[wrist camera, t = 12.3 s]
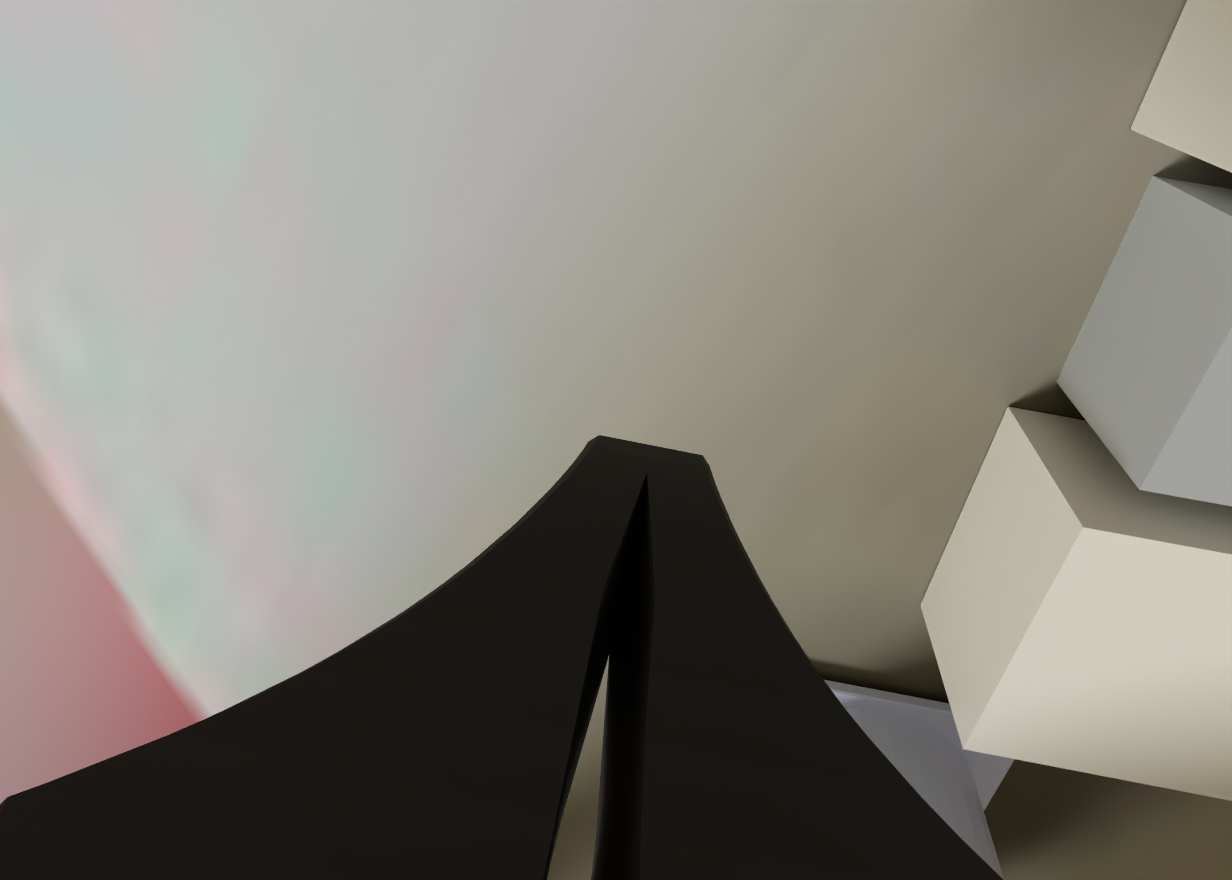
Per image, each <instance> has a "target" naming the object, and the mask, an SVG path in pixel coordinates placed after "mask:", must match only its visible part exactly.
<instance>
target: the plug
mask: <svg viewBox="0 0 1232 880" xmlns="http://www.w3.org/2000/svg"><path fill="white" fill-rule="evenodd" d="M1057 383H1058V385H1059V386H1060V387H1061V389H1062V390H1063V391H1064V393H1065V394H1066V395H1067V396H1068V398H1069V399H1070V400H1071V402H1072V403H1073V404H1074V406H1075V407H1076V408H1077V409H1078V411H1079V412H1080V413H1081V415H1082V416H1083V417H1084V418H1085V420H1086V421H1087V422H1088V424H1089V425H1090V426H1091V428H1092V429H1093V430H1094V431H1095V433H1096V434H1097V435H1098V437H1099V438H1100V439H1101V441H1102V442H1103V443H1104V444H1105V446H1106V447H1107V448H1108V450H1109V451H1110V452H1111V454H1112V455H1113V456H1114V457H1115V459H1116V460H1117V461H1118V463H1119V464H1120V465H1121V467H1122V468H1123V469H1124V470H1125V472H1126V473H1127V474H1128V476H1129V477H1130V478H1131V480H1132V481H1133V482H1134V483H1135V485H1136V486H1137V487H1138V489H1139V490H1144V491H1149V492H1155V493H1160V494H1166V495H1171V496H1177V497H1182V498H1188V499H1193V500H1199V501H1204V502H1210V503H1215V504H1221V505H1226V506H1232V189H1228V188H1222V187H1216V186H1210V185H1204V184H1198V183H1192V182H1187V181H1181V180H1175V179H1169V178H1163V177H1157V176H1152V178H1151V180H1150V183H1149V185H1148V187H1147V189H1146V191H1145V193H1144V195H1143V198H1142V200H1141V202H1140V204H1139V206H1138V208H1137V210H1136V213H1135V215H1134V217H1133V219H1132V221H1131V223H1130V225H1129V228H1128V230H1127V232H1126V234H1125V236H1124V238H1123V240H1122V243H1121V245H1120V247H1119V249H1118V251H1117V253H1116V255H1115V258H1114V260H1113V262H1112V264H1111V266H1110V268H1109V270H1108V273H1107V275H1106V277H1105V279H1104V281H1103V283H1102V285H1101V288H1100V290H1099V292H1098V294H1097V296H1096V298H1095V300H1094V303H1093V305H1092V307H1091V309H1090V311H1089V313H1088V315H1087V318H1086V320H1085V322H1084V324H1083V326H1082V328H1081V330H1080V333H1079V335H1078V337H1077V339H1076V341H1075V343H1074V345H1073V348H1072V350H1071V352H1070V354H1069V356H1068V358H1067V360H1066V363H1065V365H1064V367H1063V369H1062V371H1061V373H1060V375H1059V378H1058V380H1057Z"/></svg>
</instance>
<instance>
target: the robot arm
mask: <svg viewBox="0 0 1232 880" xmlns="http://www.w3.org/2000/svg"><path fill="white" fill-rule="evenodd" d="M608 656H609V666H608V679H607V693H606V707H605V721H604V735H603V749H602V763H601V778H600V792H599V806H598V820H597V833H596V842H595V851H594V860H593V869H592V876H591V880H1004V878H1003V874H1002V871H1001V868H1000V864H999V861H998V858H997V854H996V851H995V848H994V844H993V841H992V838H991V834H990V831H989V828H988V824H987V821H986V817H985V814H984V810H985V809H986V807H987V805H988V804H989V802H990V800H991V799H992V797H993V795H994V793H995V792H996V790H997V788H998V787H999V785H1000V783H1001V782H1002V780H1003V778H1004V777H1005V775H1006V773H1007V772H1008V770H1009V768H1010V767H1011V765H1012V763H1013V762H1014V760H1015V759H1012V758H1006V757H1001V756H996V755H991V754H985V753H980V752H975V751H970V750H965V749H963V748H962V744H961V741H960V737H959V734H958V731H957V727H956V724H955V720H954V717H953V714H952V710H951V707H950V704H949V703H944V702H938V701H933V700H928V699H923V698H918V697H912V696H907V695H902V694H897V693H891V692H886V691H881V690H876V689H870V688H865V687H860V686H855V685H849V684H844V683H839V682H834V681H828V680H823V678H822V677H821V675H820V674H819V673H818V671H817V670H816V668H815V667H814V665H813V664H812V663H811V661H810V660H809V658H808V657H807V655H806V654H805V652H804V651H803V649H802V648H801V646H800V645H799V643H798V642H797V640H796V639H795V637H794V635H793V634H792V632H791V631H790V629H789V627H788V626H787V624H786V622H785V621H784V619H783V618H782V616H781V614H780V613H779V611H778V609H777V608H776V606H775V604H774V603H773V601H772V599H771V598H770V596H769V594H768V592H767V591H766V589H765V587H764V585H763V583H762V582H761V580H760V578H759V576H758V574H757V572H756V570H755V568H754V566H753V564H752V563H751V561H750V559H749V557H748V555H747V553H746V551H745V549H744V547H743V545H742V543H741V541H740V539H739V537H738V535H737V533H736V531H735V529H734V527H733V524H732V522H731V520H730V518H729V515H728V513H727V511H726V508H725V506H724V504H723V501H722V499H721V497H720V494H719V492H718V489H717V486H716V484H715V481H714V478H713V475H712V472H711V469H710V466H709V464H708V463H707V461H706V460H705V458H704V457H703V455H698V454H693V453H688V452H683V451H678V450H673V449H667V448H662V447H657V446H652V445H651V446H650V445H647V444H642V443H637V442H632V441H626V440H621V439H616V438H611V437H606V436H601V435H599V436H597V437H595V438H594V439H592V440H590V441H589V442H588V443H587V445H586V446H585V448H584V449H583V451H582V452H581V453H580V455H579V456H578V457H577V459H576V460H575V461H574V463H573V464H572V465H571V466H570V467H569V469H568V470H567V471H566V472H565V473H564V474H563V475H562V477H561V478H560V479H559V480H558V481H557V482H556V483H555V484H554V485H553V487H552V488H551V489H550V490H549V491H548V492H547V493H546V494H545V495H544V496H543V497H542V498H541V499H540V500H539V501H538V502H537V503H536V504H535V505H534V506H533V507H532V508H531V509H530V510H529V511H528V512H527V513H526V514H525V515H524V516H523V517H522V518H521V519H520V520H519V521H518V522H517V523H516V524H514V525H513V526H512V527H511V528H510V529H509V530H508V531H507V532H505V533H504V534H503V535H502V536H501V537H500V538H498V539H497V540H496V541H495V542H494V543H493V544H491V545H490V546H489V547H488V548H487V549H486V550H484V551H483V552H482V553H481V554H480V555H479V556H477V557H476V558H475V559H474V560H473V561H472V562H470V563H469V564H468V565H467V566H465V567H464V568H463V569H462V570H460V571H459V572H458V573H456V574H455V575H454V576H452V577H451V578H450V579H449V580H447V581H446V582H445V583H443V584H442V585H441V586H439V587H438V588H436V589H435V590H434V591H432V592H431V593H429V594H428V595H427V596H425V597H424V598H422V599H421V600H419V601H418V602H416V603H415V604H414V605H412V606H411V607H409V608H408V609H406V610H405V611H403V612H402V613H400V614H399V615H397V616H396V617H394V618H393V619H391V620H389V621H388V622H386V623H385V624H383V625H381V626H380V627H378V628H376V629H375V630H373V631H372V632H370V633H368V634H367V635H365V636H363V637H362V638H360V639H358V640H357V641H355V642H354V643H352V644H350V645H349V646H347V647H345V648H344V649H342V650H340V651H339V652H337V653H335V654H333V655H332V656H330V657H328V658H326V659H324V660H323V661H321V662H319V663H317V664H315V665H314V666H312V667H310V668H308V669H306V670H304V671H303V672H301V673H299V674H297V675H295V676H293V677H291V678H289V679H287V680H285V681H282V682H280V683H278V684H276V685H274V686H272V687H270V688H268V689H266V690H264V691H262V692H260V693H258V694H256V695H254V696H252V697H250V698H248V699H246V700H244V701H242V702H240V703H238V704H236V705H234V706H232V707H230V708H228V709H226V710H224V711H222V712H220V713H217V714H215V715H213V716H211V717H209V718H207V719H204V720H202V721H200V722H197V723H195V724H193V725H191V726H188V727H186V728H184V729H181V730H179V731H177V732H174V733H172V734H170V735H167V736H165V737H162V738H160V739H157V740H155V741H152V742H150V743H147V744H144V745H142V746H139V747H137V748H134V749H132V750H129V751H127V752H124V753H122V754H119V755H117V756H114V757H112V758H109V759H106V760H104V761H101V762H99V763H96V764H94V765H91V766H89V767H86V768H84V769H81V770H78V771H76V772H74V773H71V774H68V775H66V776H63V777H61V778H58V779H55V780H53V781H51V782H48V783H45V784H42V785H40V786H37V787H34V788H31V789H29V790H26V791H23V792H20V793H17V794H15V795H12V796H9V797H7V798H6V799H5V800H4V801H3V802H2V803H1V804H0V880H547V877H548V872H549V867H550V862H551V858H552V854H553V850H554V846H555V842H556V838H557V834H558V830H559V826H560V822H561V818H562V815H563V812H564V808H565V805H566V801H567V798H568V794H569V791H570V788H571V784H572V781H573V777H574V774H575V770H576V767H577V763H578V760H579V757H580V753H581V750H582V746H583V743H584V739H585V736H586V732H587V729H588V726H589V722H590V719H591V715H592V712H593V708H594V705H595V701H596V698H597V695H598V691H599V688H600V684H601V681H602V677H603V674H604V670H605V667H606V663H607V660H608Z"/></svg>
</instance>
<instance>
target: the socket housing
mask: <svg viewBox="0 0 1232 880" xmlns="http://www.w3.org/2000/svg"><path fill="white" fill-rule="evenodd" d="M1130 130H1133V131H1135V132H1137V133H1140V134H1142V135H1144V136H1147V137H1149V138H1152V139H1154V140H1156V141H1159V142H1161V143H1163V144H1166V145H1168V146H1170V147H1173V148H1175V149H1177V150H1180V151H1182V152H1184V153H1187V154H1189V155H1191V156H1194V157H1196V158H1198V159H1201V160H1203V161H1205V162H1208V163H1210V164H1212V165H1215V166H1217V167H1219V168H1222V169H1224V170H1227V171H1229V172H1231V173H1232V0H1187V2H1186V4H1185V6H1184V9H1183V11H1182V13H1181V16H1180V18H1179V20H1178V22H1177V25H1176V27H1175V29H1174V31H1173V34H1172V36H1171V38H1170V40H1169V43H1168V45H1167V47H1166V50H1165V52H1164V54H1163V56H1162V59H1161V61H1160V63H1159V65H1158V68H1157V70H1156V72H1155V74H1154V77H1153V79H1152V81H1151V84H1150V86H1149V88H1148V90H1147V93H1146V95H1145V97H1144V99H1143V102H1142V104H1141V106H1140V108H1139V111H1138V113H1137V115H1136V118H1135V120H1134V122H1133V124H1132V127H1131V129H1130ZM921 609H922V612H923V616H924V619H925V622H926V626H927V629H928V633H929V636H930V639H931V643H932V646H933V649H934V653H935V656H936V660H937V663H938V666H939V670H940V673H941V677H942V680H943V683H944V687H945V690H946V693H947V697H948V700H949V704H950V707H951V710H952V714H953V717H954V720H955V724H956V727H957V731H958V734H959V737H960V741H961V744H962V748H963V749H965V750H970V751H975V752H980V753H985V754H991V755H996V756H1001V757H1006V758H1012V759H1017V760H1022V761H1027V762H1032V763H1038V764H1043V765H1048V766H1053V767H1058V768H1064V769H1069V770H1074V771H1079V772H1084V773H1090V774H1095V775H1100V776H1105V777H1110V778H1116V779H1121V780H1126V781H1131V782H1136V783H1142V784H1147V785H1152V786H1157V787H1162V788H1168V789H1173V790H1178V791H1183V792H1188V793H1194V794H1199V795H1204V796H1209V797H1214V798H1220V799H1225V800H1230V801H1232V506H1226V505H1221V504H1215V503H1210V502H1204V501H1199V500H1193V499H1188V498H1182V497H1177V496H1171V495H1166V494H1160V493H1155V492H1149V491H1144V490H1139V489H1138V487H1137V486H1136V485H1135V483H1134V482H1133V481H1132V480H1131V478H1130V477H1129V476H1128V474H1127V473H1126V472H1125V470H1124V469H1123V468H1122V467H1121V465H1120V464H1119V463H1118V461H1117V460H1116V459H1115V457H1114V456H1113V455H1112V454H1111V452H1110V451H1109V450H1108V448H1107V447H1106V446H1105V444H1104V443H1103V442H1102V441H1101V439H1100V438H1099V437H1098V435H1097V434H1096V433H1095V431H1094V430H1093V429H1092V428H1091V426H1090V425H1089V424H1088V422H1087V421H1085V420H1080V419H1074V418H1069V417H1063V416H1057V415H1052V414H1046V413H1041V412H1035V411H1030V410H1024V409H1019V408H1013V407H1008V408H1007V410H1006V412H1005V415H1004V417H1003V419H1002V421H1001V424H1000V426H999V428H998V430H997V433H996V435H995V437H994V440H993V442H992V444H991V446H990V449H989V451H988V453H987V455H986V458H985V460H984V462H983V465H982V467H981V469H980V471H979V474H978V476H977V478H976V480H975V483H974V485H973V487H972V489H971V492H970V494H969V496H968V499H967V501H966V503H965V505H964V508H963V510H962V512H961V514H960V517H959V519H958V521H957V523H956V526H955V528H954V530H953V533H952V535H951V537H950V539H949V542H948V544H947V546H946V548H945V551H944V553H943V555H942V557H941V560H940V562H939V564H938V567H937V569H936V571H935V573H934V576H933V578H932V580H931V582H930V585H929V587H928V589H927V591H926V594H925V596H924V598H923V601H922V603H921Z"/></svg>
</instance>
